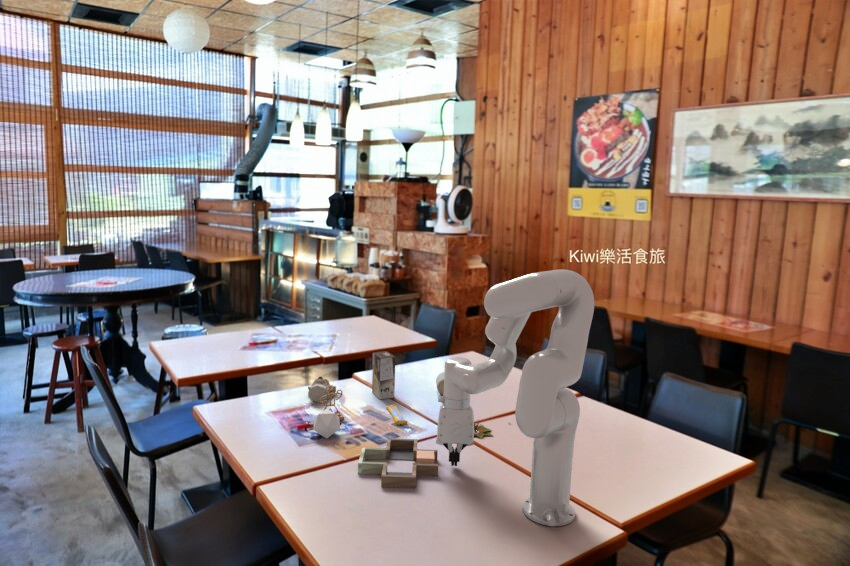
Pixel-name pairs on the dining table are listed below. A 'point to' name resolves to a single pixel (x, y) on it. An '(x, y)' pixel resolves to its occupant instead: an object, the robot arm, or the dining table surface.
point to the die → (326, 423)
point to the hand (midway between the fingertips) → (454, 463)
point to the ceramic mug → (440, 383)
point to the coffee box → (383, 375)
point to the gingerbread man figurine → (331, 399)
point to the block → (425, 457)
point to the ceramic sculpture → (319, 389)
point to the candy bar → (396, 414)
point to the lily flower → (481, 430)
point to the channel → (396, 451)
